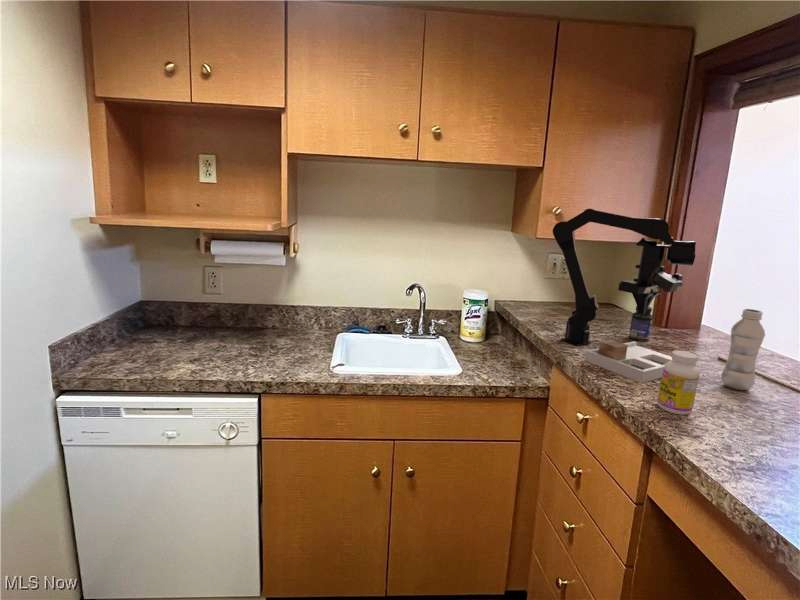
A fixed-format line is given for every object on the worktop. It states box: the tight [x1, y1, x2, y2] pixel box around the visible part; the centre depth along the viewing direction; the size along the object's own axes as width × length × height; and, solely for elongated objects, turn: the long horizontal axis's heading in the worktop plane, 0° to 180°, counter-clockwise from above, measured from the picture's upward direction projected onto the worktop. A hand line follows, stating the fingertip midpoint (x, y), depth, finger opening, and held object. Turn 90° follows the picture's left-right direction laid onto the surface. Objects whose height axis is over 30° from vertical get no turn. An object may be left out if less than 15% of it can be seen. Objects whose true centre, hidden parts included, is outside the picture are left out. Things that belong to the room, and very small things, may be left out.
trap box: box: [584, 340, 672, 384], centre depth 124 cm, size 17×22×3 cm
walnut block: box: [598, 339, 628, 361], centre depth 123 cm, size 5×5×4 cm
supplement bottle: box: [656, 349, 701, 416], centre depth 97 cm, size 7×7×13 cm
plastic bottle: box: [720, 308, 766, 391], centre depth 109 cm, size 6×7×20 cm
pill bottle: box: [628, 305, 654, 342], centre depth 148 cm, size 6×6×11 cm
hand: (641, 313), depth 133 cm, fingers closed
